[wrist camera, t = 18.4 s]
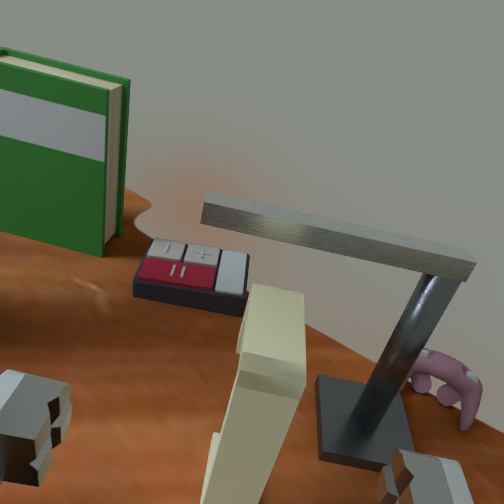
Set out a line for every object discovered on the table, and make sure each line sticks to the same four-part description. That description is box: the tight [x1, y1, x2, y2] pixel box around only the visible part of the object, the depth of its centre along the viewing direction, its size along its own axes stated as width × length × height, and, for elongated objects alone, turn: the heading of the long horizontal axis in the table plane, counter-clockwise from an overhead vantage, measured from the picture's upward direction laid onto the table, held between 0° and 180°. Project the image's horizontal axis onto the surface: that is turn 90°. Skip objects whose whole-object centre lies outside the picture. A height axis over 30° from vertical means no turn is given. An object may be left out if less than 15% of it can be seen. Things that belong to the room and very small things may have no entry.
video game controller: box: [399, 348, 483, 431], centre depth 54 cm, size 10×5×7 cm, turn 63°
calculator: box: [133, 238, 250, 317], centre depth 64 cm, size 11×4×15 cm
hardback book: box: [0, 47, 131, 258], centre depth 62 cm, size 18×7×24 cm, turn 81°
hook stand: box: [200, 192, 477, 472], centre depth 43 cm, size 26×10×24 cm, turn 86°
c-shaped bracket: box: [200, 283, 307, 504], centre depth 35 cm, size 4×9×20 cm, turn 175°
